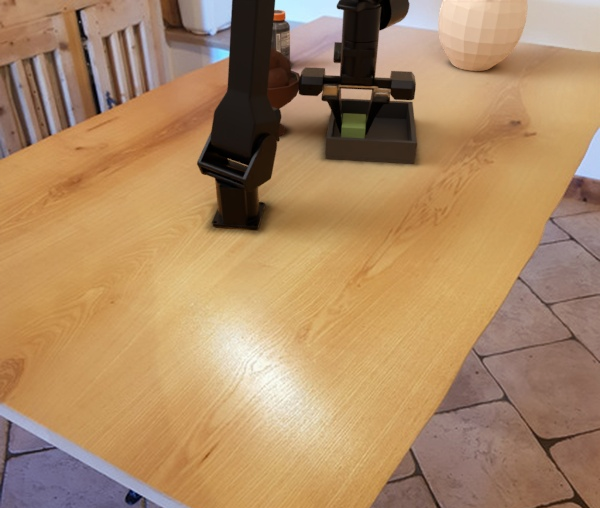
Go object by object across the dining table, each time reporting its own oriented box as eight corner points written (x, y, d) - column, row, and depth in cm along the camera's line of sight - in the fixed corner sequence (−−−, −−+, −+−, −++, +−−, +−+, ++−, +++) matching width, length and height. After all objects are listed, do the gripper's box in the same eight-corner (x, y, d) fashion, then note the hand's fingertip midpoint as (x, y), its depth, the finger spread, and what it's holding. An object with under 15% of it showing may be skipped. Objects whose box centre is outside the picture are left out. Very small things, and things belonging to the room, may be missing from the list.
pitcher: (427, 73, 123) (447, -59, 106) (436, 49, 136) (455, -72, 120) (513, 82, 119) (548, -54, 102) (514, 56, 132) (545, -67, 116)
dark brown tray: (414, 163, 90) (417, 143, 87) (325, 158, 91) (326, 138, 89) (409, 120, 103) (412, 101, 101) (332, 116, 104) (333, 97, 102)
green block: (364, 145, 94) (365, 128, 92) (340, 143, 94) (341, 127, 92) (364, 130, 98) (366, 114, 96) (342, 129, 98) (343, 113, 96)
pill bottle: (260, 63, 128) (258, 9, 120) (283, 59, 130) (283, 6, 122) (270, 70, 124) (268, 16, 116) (294, 67, 125) (294, 13, 118)
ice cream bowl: (294, 146, 94) (294, 55, 85) (232, 140, 96) (225, 50, 86) (306, 121, 102) (307, 35, 92) (248, 116, 104) (244, 31, 94)
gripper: (418, 25, 90) (405, 117, 101) (305, 21, 92) (304, 112, 102) (422, 45, 82) (408, 143, 92) (298, 41, 84) (298, 138, 94)
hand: (353, 133), depth 95 cm, fingers closed on green block, 4 cm apart
